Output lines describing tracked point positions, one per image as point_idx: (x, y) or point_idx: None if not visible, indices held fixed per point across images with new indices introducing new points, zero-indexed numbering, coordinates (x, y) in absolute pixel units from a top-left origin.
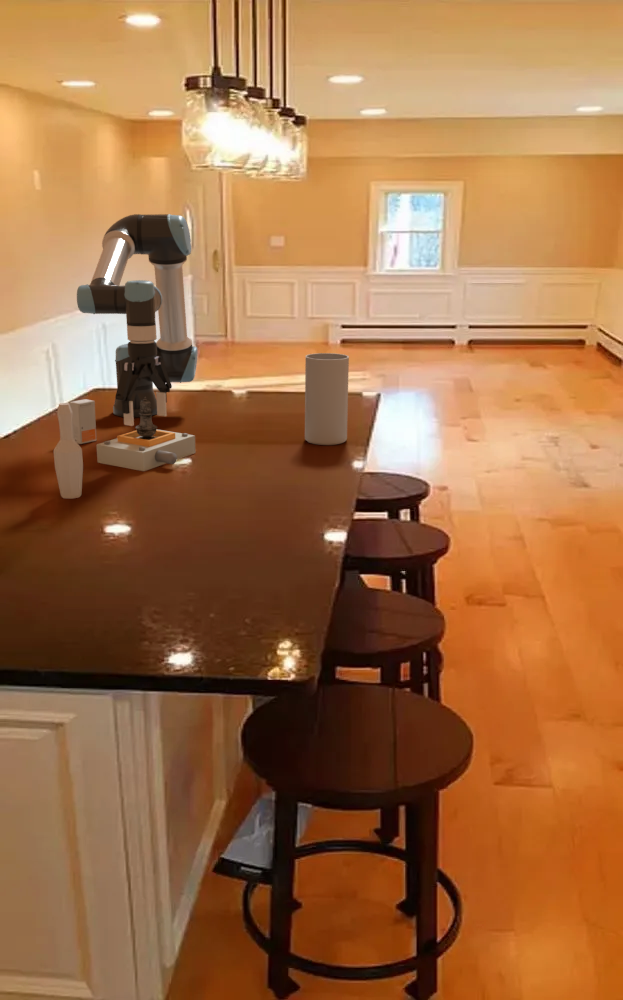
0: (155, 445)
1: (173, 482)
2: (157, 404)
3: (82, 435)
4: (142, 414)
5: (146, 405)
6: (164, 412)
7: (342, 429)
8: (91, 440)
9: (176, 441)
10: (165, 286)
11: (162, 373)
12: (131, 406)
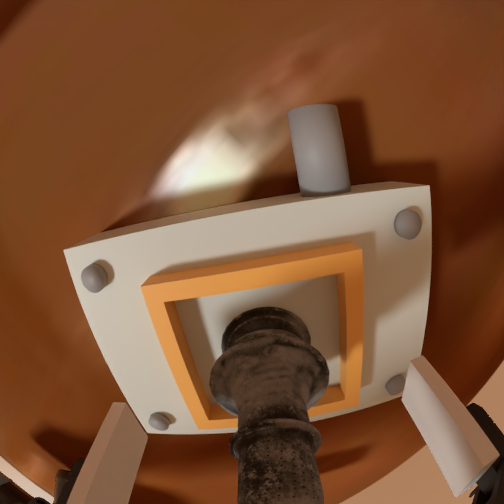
0: (315, 239)
1: (395, 33)
2: (132, 479)
3: None
4: (320, 435)
5: (305, 482)
6: (120, 419)
7: None
8: None
9: (184, 223)
10: None
11: None
12: (480, 433)
